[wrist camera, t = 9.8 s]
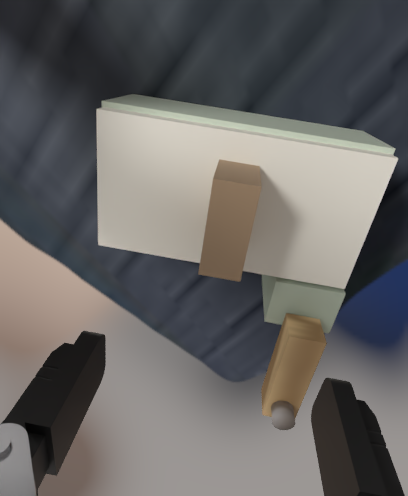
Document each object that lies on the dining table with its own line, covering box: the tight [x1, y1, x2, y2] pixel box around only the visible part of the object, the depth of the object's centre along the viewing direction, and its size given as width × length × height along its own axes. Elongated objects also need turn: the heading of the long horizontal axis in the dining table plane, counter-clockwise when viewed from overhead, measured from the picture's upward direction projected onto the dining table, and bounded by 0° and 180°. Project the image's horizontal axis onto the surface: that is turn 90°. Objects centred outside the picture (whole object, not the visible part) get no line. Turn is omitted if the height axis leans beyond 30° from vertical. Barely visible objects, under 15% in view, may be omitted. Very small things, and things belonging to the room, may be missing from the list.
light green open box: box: [102, 94, 395, 333], centre depth 32 cm, size 22×16×10 cm
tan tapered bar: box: [262, 313, 327, 430], centre depth 30 cm, size 3×10×4 cm, turn 172°
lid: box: [96, 107, 398, 289], centre depth 25 cm, size 22×11×6 cm, turn 82°
